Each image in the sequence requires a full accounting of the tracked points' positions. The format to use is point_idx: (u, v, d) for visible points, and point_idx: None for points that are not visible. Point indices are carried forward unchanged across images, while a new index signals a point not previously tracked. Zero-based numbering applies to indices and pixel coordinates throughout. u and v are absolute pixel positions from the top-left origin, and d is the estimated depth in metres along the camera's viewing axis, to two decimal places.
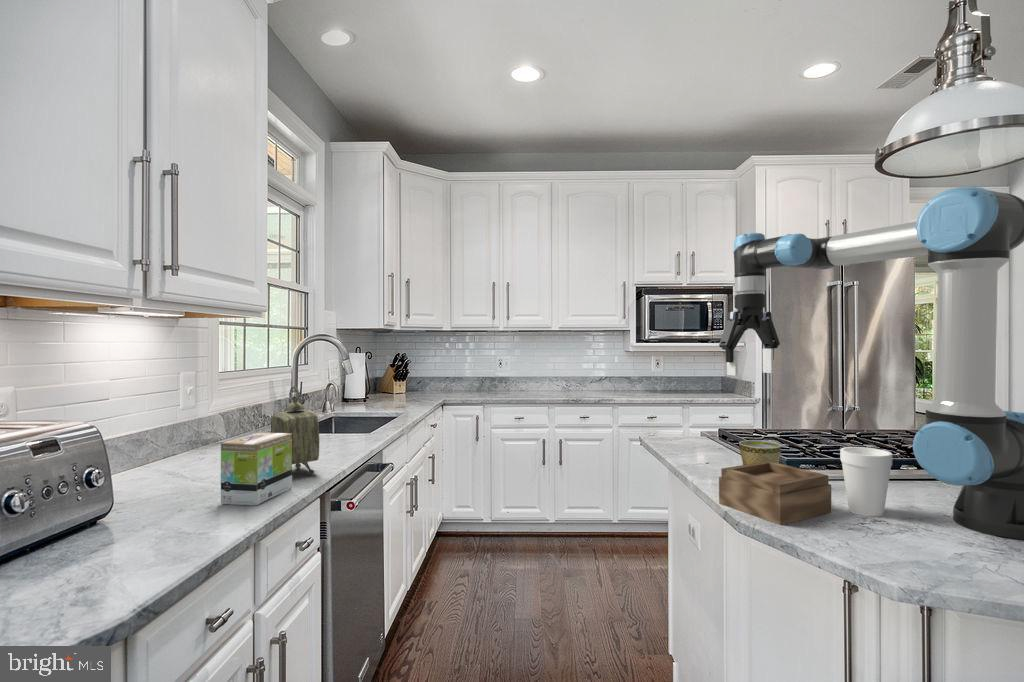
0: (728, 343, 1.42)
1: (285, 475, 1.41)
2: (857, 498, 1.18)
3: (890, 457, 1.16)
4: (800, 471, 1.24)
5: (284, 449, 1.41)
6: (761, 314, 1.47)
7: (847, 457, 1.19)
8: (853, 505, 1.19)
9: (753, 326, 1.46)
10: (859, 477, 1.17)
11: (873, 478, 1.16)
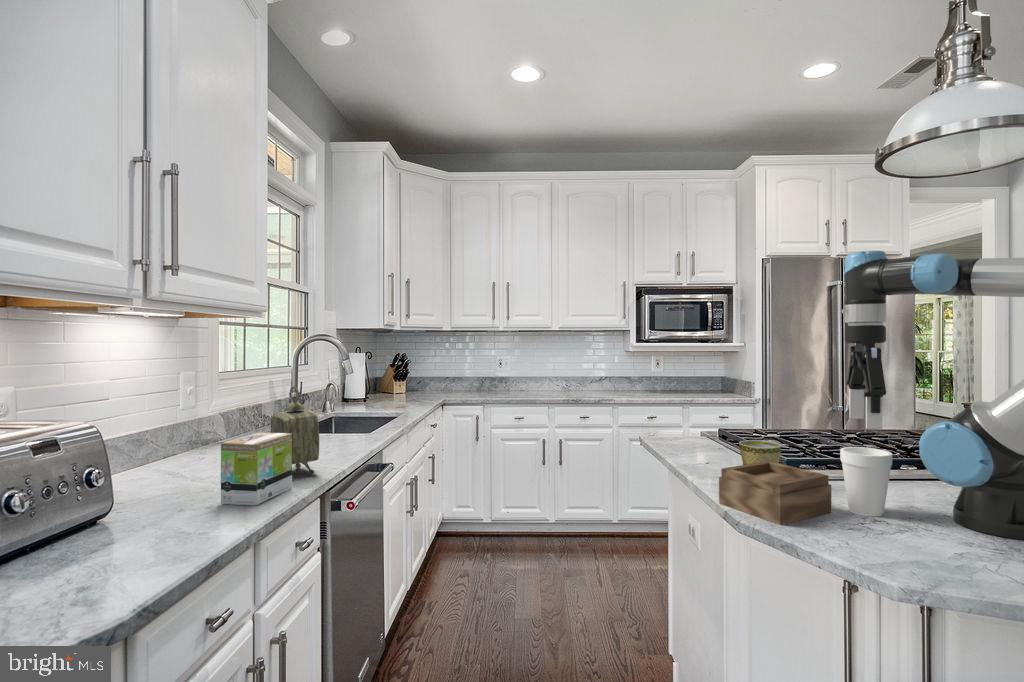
0: None
1: (285, 475, 1.41)
2: (857, 498, 1.18)
3: (890, 457, 1.16)
4: (800, 471, 1.24)
5: (284, 449, 1.41)
6: None
7: (847, 457, 1.19)
8: (853, 505, 1.19)
9: None
10: (859, 477, 1.17)
11: (873, 478, 1.16)
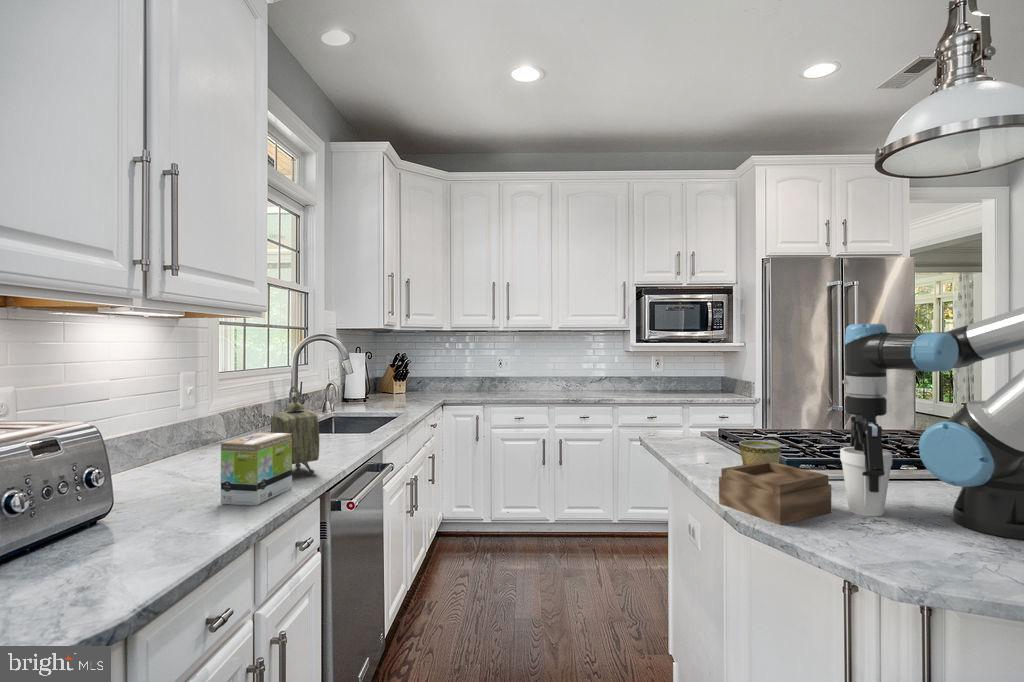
0: None
1: (285, 475, 1.41)
2: (857, 498, 1.18)
3: (890, 457, 1.16)
4: (800, 471, 1.24)
5: (284, 449, 1.41)
6: None
7: (847, 457, 1.19)
8: (853, 505, 1.19)
9: None
10: (859, 477, 1.17)
11: None
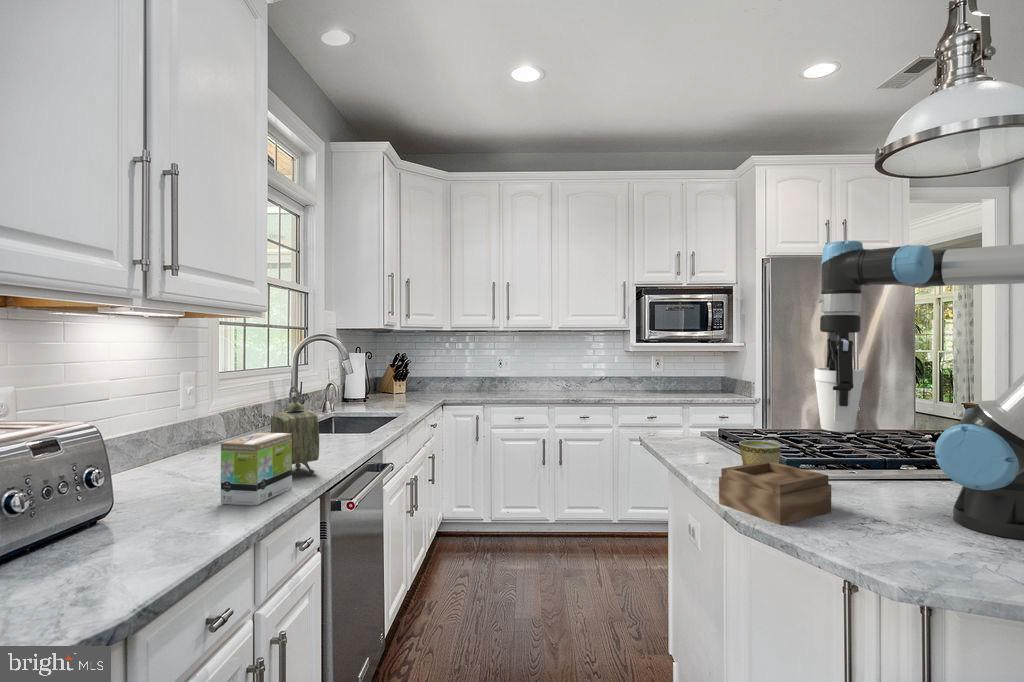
0: (852, 383, 1.13)
1: (285, 475, 1.41)
2: (828, 414, 1.19)
3: (862, 373, 1.17)
4: (800, 471, 1.24)
5: (284, 449, 1.41)
6: None
7: (819, 374, 1.20)
8: (824, 422, 1.21)
9: None
10: (830, 393, 1.18)
11: None
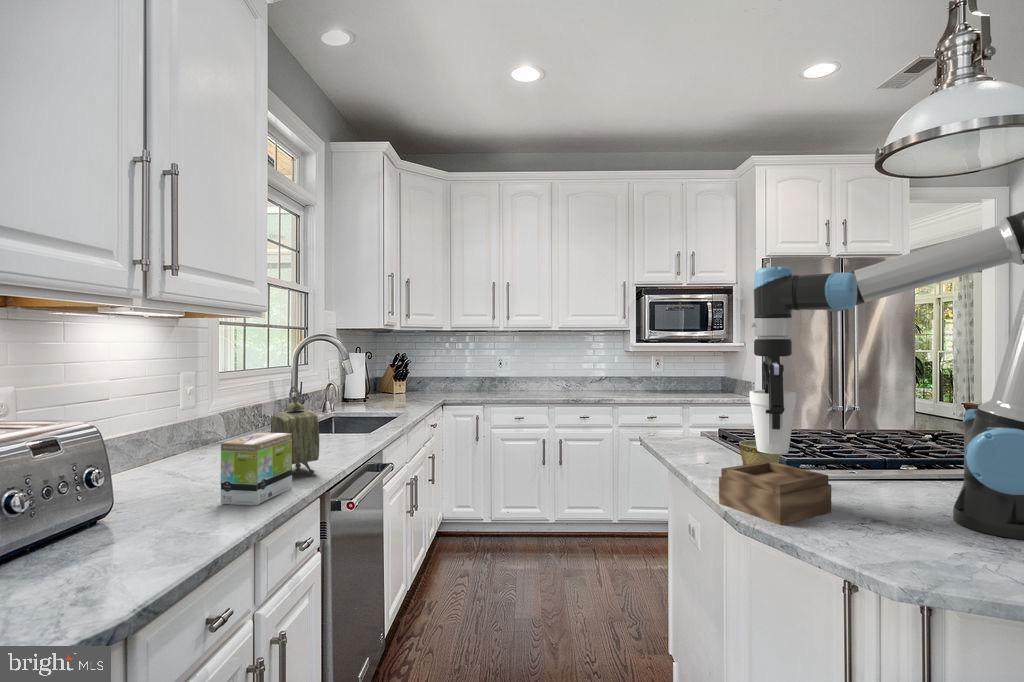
0: (783, 407, 1.15)
1: (285, 475, 1.41)
2: (763, 436, 1.21)
3: (793, 396, 1.19)
4: (800, 471, 1.24)
5: (284, 449, 1.41)
6: None
7: (754, 397, 1.22)
8: (760, 444, 1.22)
9: None
10: (764, 416, 1.20)
11: None
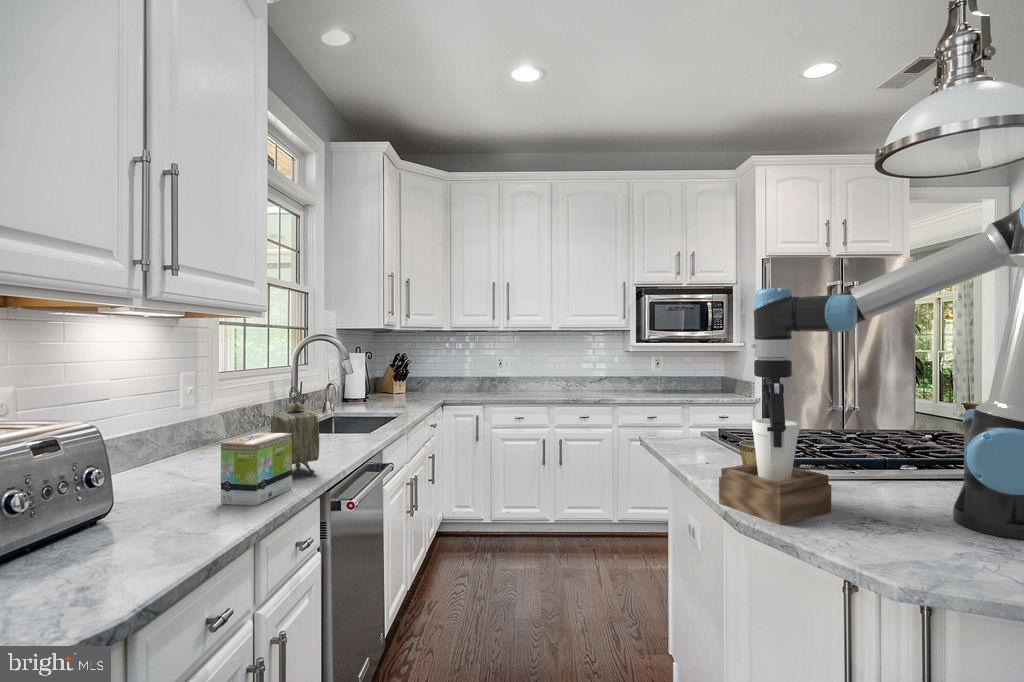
0: None
1: (285, 475, 1.41)
2: (764, 466, 1.21)
3: (796, 427, 1.19)
4: (800, 471, 1.24)
5: (284, 449, 1.41)
6: None
7: (756, 426, 1.22)
8: (761, 474, 1.22)
9: None
10: (766, 446, 1.20)
11: None
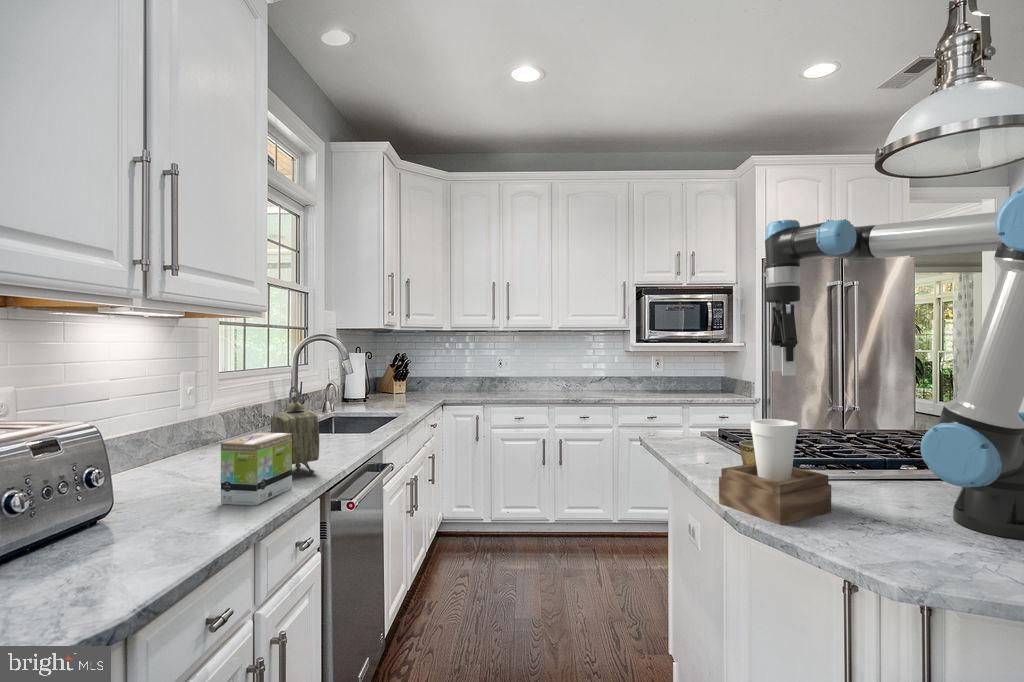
0: (796, 339, 1.26)
1: (285, 475, 1.41)
2: (764, 467, 1.21)
3: (794, 427, 1.19)
4: (800, 471, 1.24)
5: (284, 449, 1.41)
6: None
7: (754, 427, 1.22)
8: (761, 474, 1.22)
9: None
10: (765, 446, 1.20)
11: (777, 447, 1.19)
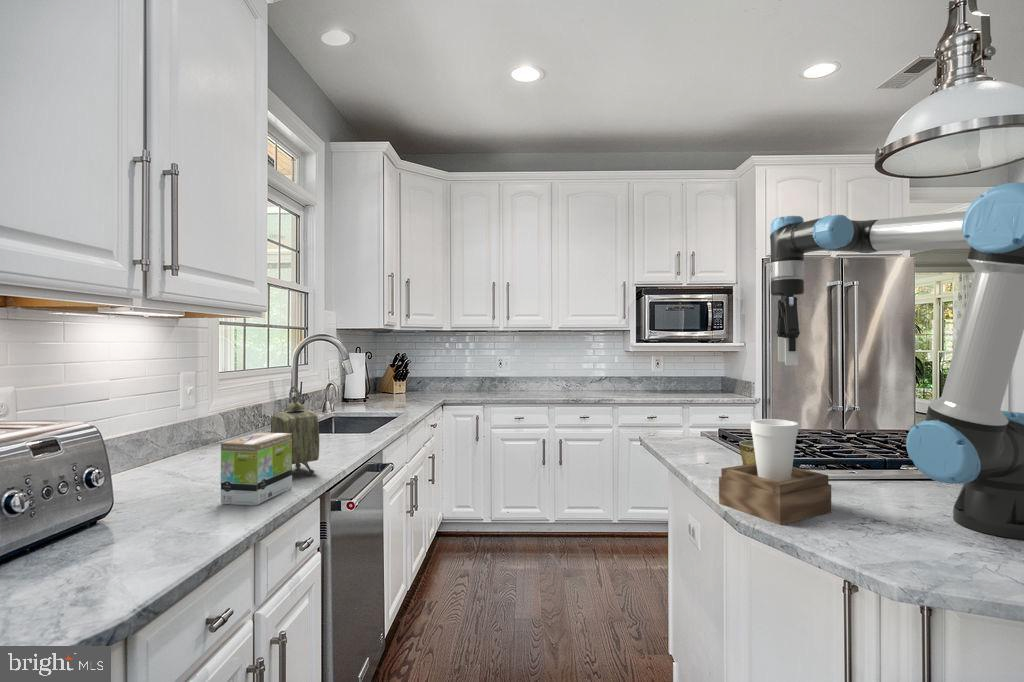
0: (798, 330, 1.32)
1: (285, 475, 1.41)
2: (764, 467, 1.21)
3: (795, 427, 1.19)
4: (800, 471, 1.24)
5: (284, 449, 1.41)
6: None
7: (755, 427, 1.22)
8: (761, 474, 1.22)
9: None
10: (765, 446, 1.20)
11: (777, 447, 1.19)
